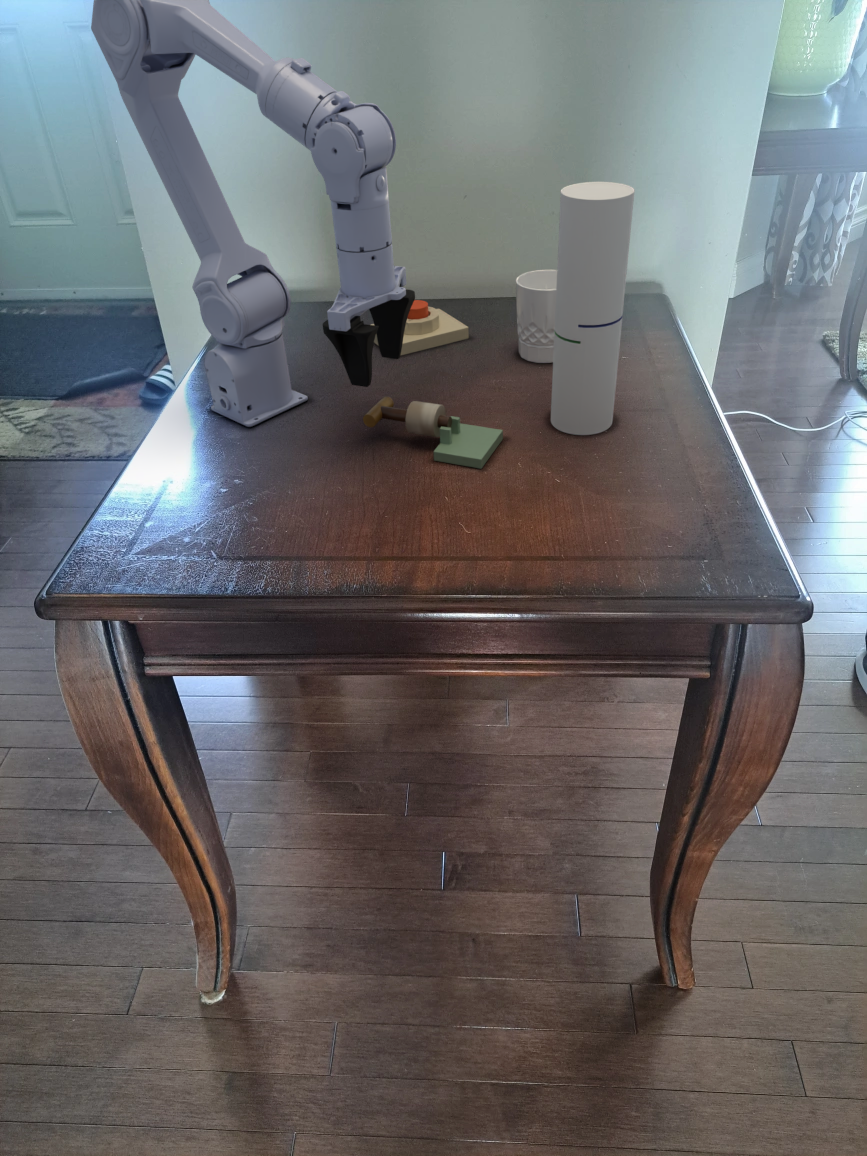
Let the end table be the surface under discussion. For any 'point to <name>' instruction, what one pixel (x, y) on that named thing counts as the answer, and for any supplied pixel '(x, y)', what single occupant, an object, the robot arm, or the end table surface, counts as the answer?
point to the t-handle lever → (411, 416)
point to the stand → (467, 444)
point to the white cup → (536, 314)
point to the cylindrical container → (589, 304)
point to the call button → (418, 310)
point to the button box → (431, 331)
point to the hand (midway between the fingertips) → (376, 370)
